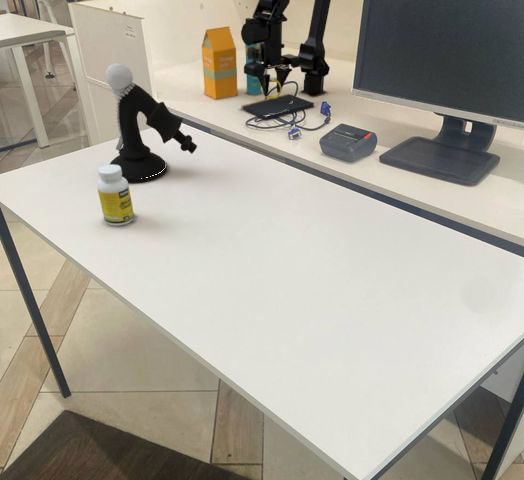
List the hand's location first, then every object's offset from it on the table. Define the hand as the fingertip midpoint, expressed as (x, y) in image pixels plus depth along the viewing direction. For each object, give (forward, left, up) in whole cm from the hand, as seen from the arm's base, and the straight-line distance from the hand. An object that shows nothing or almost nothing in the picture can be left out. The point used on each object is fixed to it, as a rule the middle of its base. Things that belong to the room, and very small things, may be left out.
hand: (272, 94), depth 172 cm
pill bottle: (+75, +39, -4) cm, 85 cm away
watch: (0, 0, -1) cm, 1 cm away
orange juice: (+6, -20, -4) cm, 22 cm away
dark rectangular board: (0, +3, -4) cm, 5 cm away
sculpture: (+56, +21, -4) cm, 60 cm away
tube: (-4, -14, -4) cm, 15 cm away
